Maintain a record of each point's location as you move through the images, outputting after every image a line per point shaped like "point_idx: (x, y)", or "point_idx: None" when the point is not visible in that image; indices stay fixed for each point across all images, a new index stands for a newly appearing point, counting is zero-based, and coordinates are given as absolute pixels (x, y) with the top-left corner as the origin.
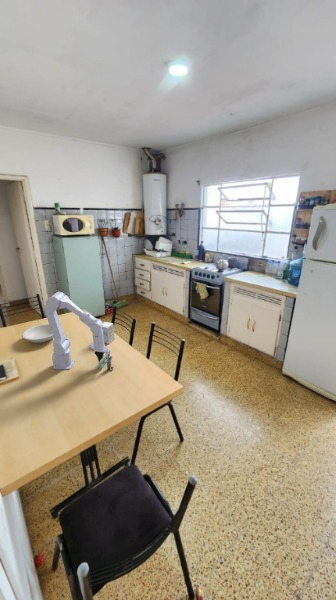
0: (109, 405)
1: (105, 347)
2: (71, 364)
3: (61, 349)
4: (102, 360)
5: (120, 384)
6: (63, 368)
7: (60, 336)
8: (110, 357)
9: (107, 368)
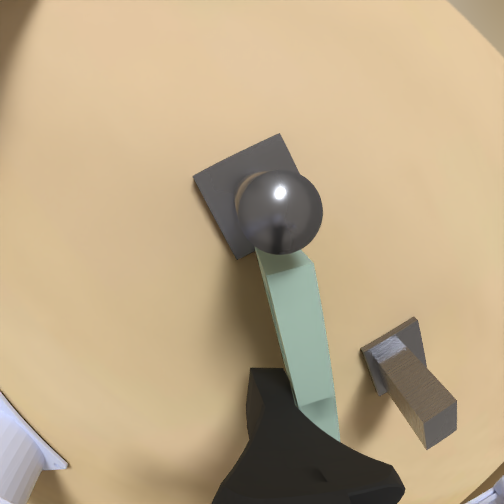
0: (458, 483)
1: None
2: (28, 433)
3: None
4: None
5: (489, 409)
6: (42, 469)
7: None
8: (273, 167)
9: (372, 375)
